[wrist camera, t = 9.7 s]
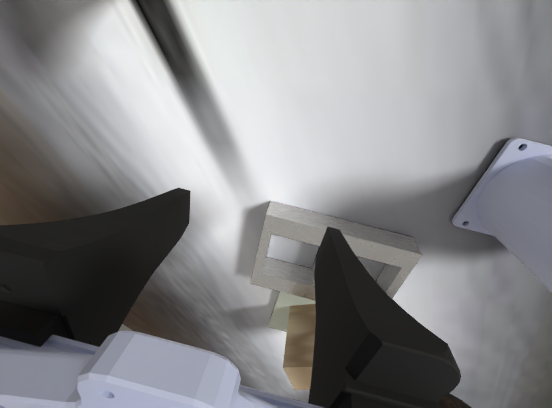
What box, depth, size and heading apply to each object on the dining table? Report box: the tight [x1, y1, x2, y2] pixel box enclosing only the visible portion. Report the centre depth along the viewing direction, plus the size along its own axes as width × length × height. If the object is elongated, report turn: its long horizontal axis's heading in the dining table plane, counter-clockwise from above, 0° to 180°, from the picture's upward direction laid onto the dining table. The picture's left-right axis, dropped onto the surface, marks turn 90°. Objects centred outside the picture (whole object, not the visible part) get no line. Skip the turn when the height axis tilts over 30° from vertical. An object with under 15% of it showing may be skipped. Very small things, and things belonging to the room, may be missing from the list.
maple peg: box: [283, 304, 316, 390], centre depth 27 cm, size 4×4×7 cm
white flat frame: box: [250, 201, 422, 301], centre depth 25 cm, size 14×9×2 cm, turn 78°
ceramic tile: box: [269, 291, 315, 332], centre depth 31 cm, size 9×8×1 cm
